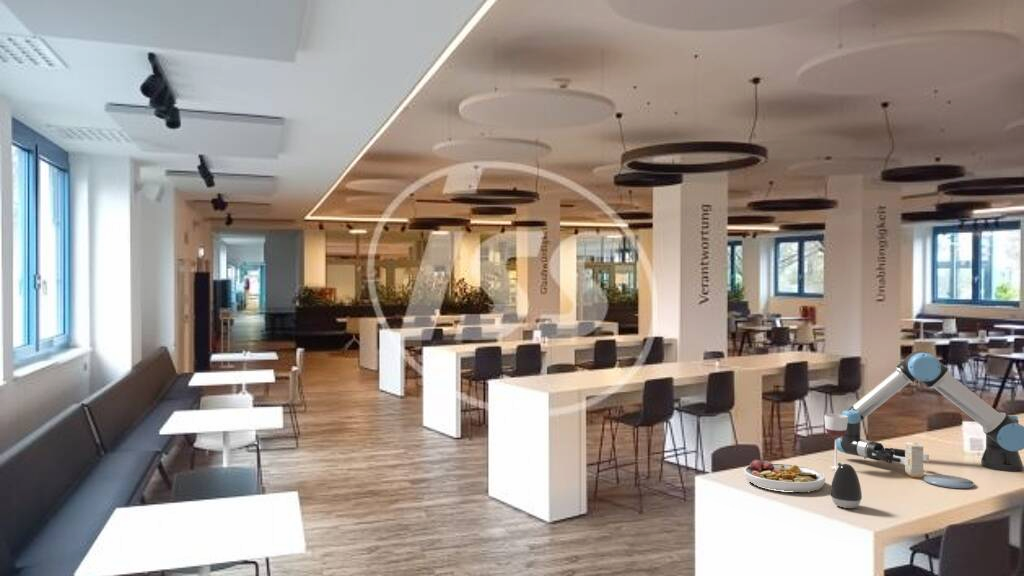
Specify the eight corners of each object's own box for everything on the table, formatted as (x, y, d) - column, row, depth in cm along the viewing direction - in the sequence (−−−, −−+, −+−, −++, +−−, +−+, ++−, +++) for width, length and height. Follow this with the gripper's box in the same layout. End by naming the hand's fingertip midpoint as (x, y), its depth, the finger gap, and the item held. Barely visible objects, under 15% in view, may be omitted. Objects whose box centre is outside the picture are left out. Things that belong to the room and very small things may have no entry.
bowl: (838, 485, 286) (838, 465, 286) (803, 500, 265) (803, 479, 265) (766, 471, 308) (766, 453, 308) (729, 484, 287) (729, 464, 287)
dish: (939, 476, 300) (939, 472, 300) (982, 485, 286) (982, 482, 286) (914, 481, 292) (915, 477, 292) (958, 491, 277) (958, 487, 277)
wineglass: (826, 471, 308) (826, 417, 308) (822, 465, 317) (822, 413, 318) (849, 472, 306) (850, 418, 306) (844, 466, 315) (845, 414, 315)
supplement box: (924, 478, 296) (924, 446, 296) (911, 477, 297) (911, 445, 297) (917, 473, 304) (917, 442, 305) (904, 472, 305) (904, 441, 305)
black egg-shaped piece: (852, 502, 262) (852, 460, 262) (867, 511, 252) (867, 467, 252) (824, 502, 262) (824, 460, 262) (838, 511, 252) (838, 467, 252)
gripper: (888, 455, 324) (936, 465, 305) (853, 461, 312) (900, 472, 293) (888, 438, 324) (936, 447, 305) (853, 444, 312) (900, 454, 293)
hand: (918, 460), depth 299 cm, fingers open, 13 cm apart
